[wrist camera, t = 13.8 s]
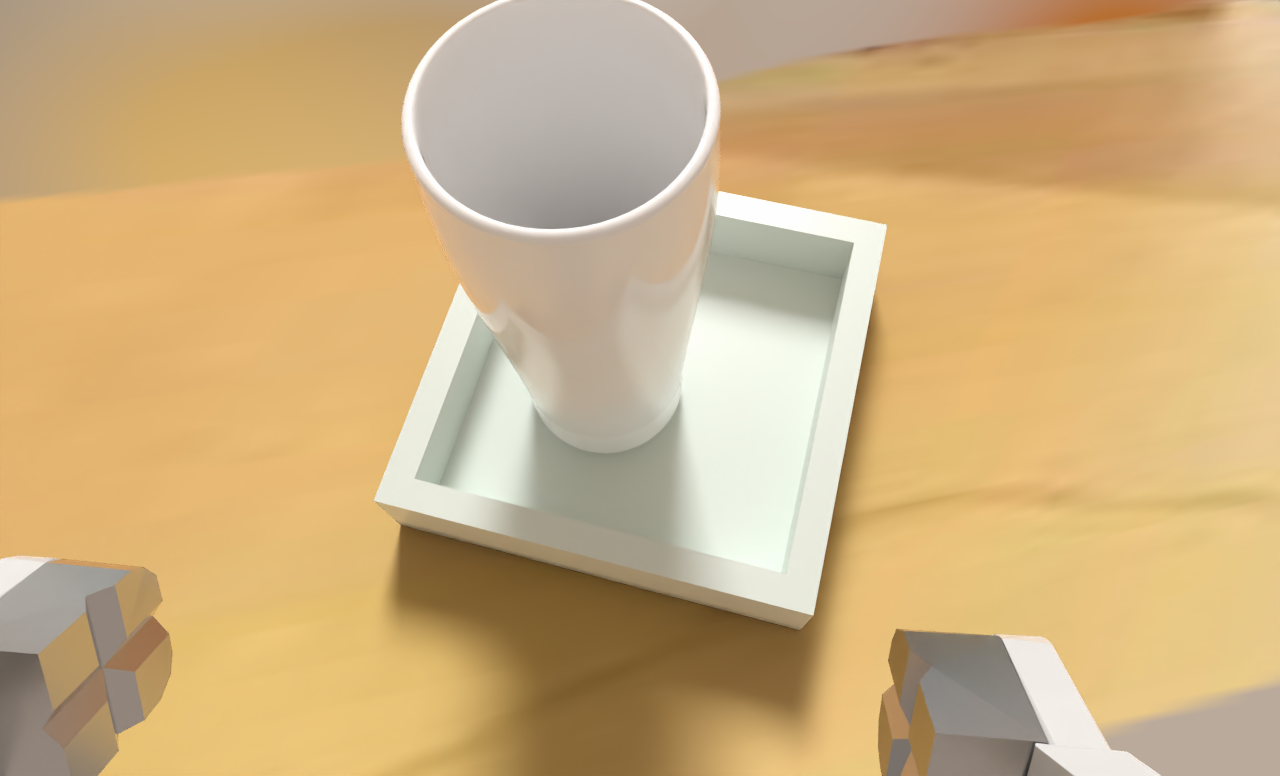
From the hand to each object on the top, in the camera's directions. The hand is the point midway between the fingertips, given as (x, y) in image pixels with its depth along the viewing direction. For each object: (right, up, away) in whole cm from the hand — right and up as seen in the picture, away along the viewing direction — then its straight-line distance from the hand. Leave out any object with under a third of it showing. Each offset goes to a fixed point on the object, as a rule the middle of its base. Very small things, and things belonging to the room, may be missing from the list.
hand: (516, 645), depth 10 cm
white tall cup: (0, +3, +22) cm, 23 cm away
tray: (+2, +3, +23) cm, 23 cm away
